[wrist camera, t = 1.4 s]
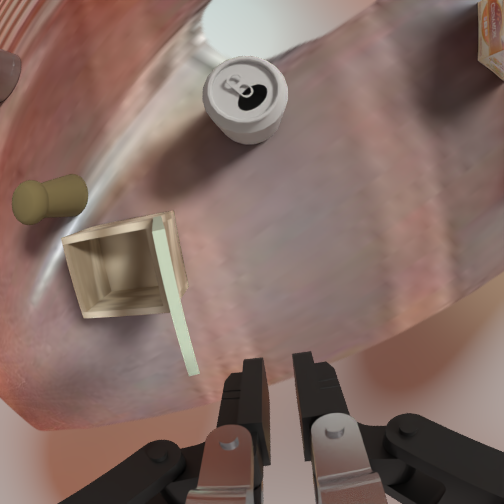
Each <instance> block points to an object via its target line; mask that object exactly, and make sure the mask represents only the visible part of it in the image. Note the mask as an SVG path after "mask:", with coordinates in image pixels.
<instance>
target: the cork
mask: <svg viewBox="0 0 504 504" xmlns="http://www.w3.org/2000/svg"><path fill="white" fill-rule="evenodd" d="M87 201H88V190H87V186H86V184H85V182H84V180H83V179H82V178H81V177H80V176H78V175H75V174H70V175H66V176H63V177H59V178H56V179H53V180H49V181H46V182H43V183H40V182H38V181H34V180H28V181H25V182H23V183H21V184H20V185H19V186H18V187H17V188H16V190H15V192H14V193H13V197H12V210H13V213H14V216H15V217H16V219H17V220H18V221H20V222H21V223H22V224H25V225H33V224H36V223H38V222H39V221H41V220H42V219H43V218H48V217H73V216H77V215H79V214H80V213H82V211H83V210H84V209H85V207H86V204H87Z"/></svg>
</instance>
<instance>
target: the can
mask: <svg viewBox="0 0 504 504" xmlns="http://www.w3.org/2000/svg"><path fill="white" fill-rule="evenodd" d="M287 101H288V87H287V84H286V82H285V79H284V76H283V75H282V74H281V73H280V71H279V70H278V69H277V68H276V67H275V66H274V65H272V64H271V63H269V62H268V61H266V60H264V59H260V58H257V57H253V56H239V57H235V58H232V59H228V60H226V61H224V62H223V63H221V64H220V65H218V66H217V67H215V68H214V70H213V71H212V72H211V73H210V74H209V76H208V77H207V79H206V82H205V84H204V87H203V103H204V106H205V110H206V112H207V113H208V115H209V116H210V117H211V119H212V120H213V121H214V123H215V124H216V125H217V126H218V127H219V128H220V129H221V130H222V131H223V133H224V134H225V135H226V136H227V137H229V138H230V139H232V140H233V141H235V142H238V143H241V144H257V143H260V142H264V141H265V140H267V139H268V138H270V137H271V136H272V135H273V134H274V133H275V131H276V130H277V129H278V127H279V124H280V121H281V119H282V116H283V113H284V110H285V107H286V104H287Z"/></svg>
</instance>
